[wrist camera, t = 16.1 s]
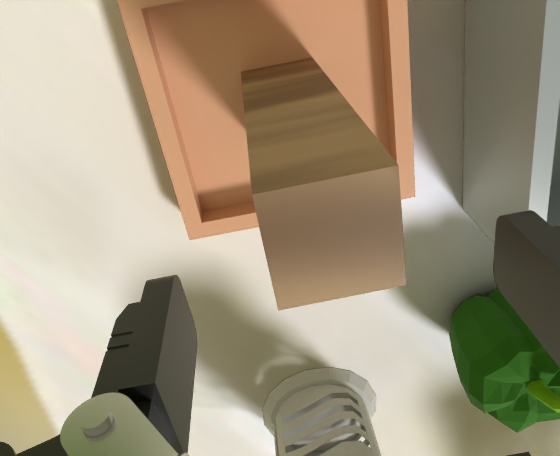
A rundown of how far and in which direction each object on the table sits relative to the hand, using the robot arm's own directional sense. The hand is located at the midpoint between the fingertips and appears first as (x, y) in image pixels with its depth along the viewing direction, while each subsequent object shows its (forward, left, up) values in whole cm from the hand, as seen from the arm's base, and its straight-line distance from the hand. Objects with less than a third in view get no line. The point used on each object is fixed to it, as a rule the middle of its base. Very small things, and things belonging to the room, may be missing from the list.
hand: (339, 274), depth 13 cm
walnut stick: (0, 0, -18) cm, 18 cm away
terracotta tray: (0, 0, -19) cm, 19 cm away
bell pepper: (+20, +13, -19) cm, 31 cm away
